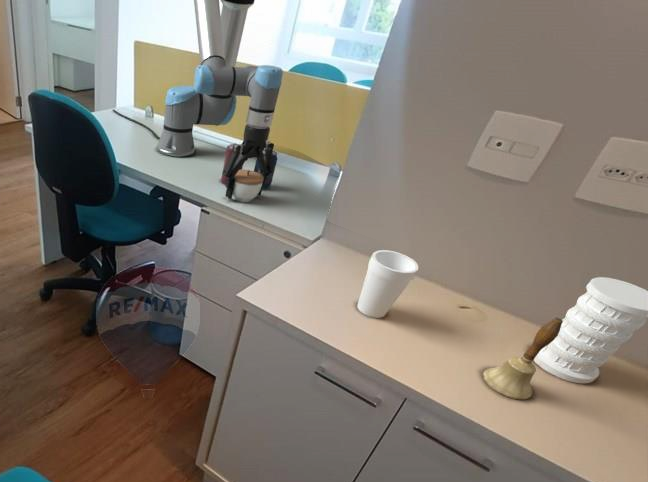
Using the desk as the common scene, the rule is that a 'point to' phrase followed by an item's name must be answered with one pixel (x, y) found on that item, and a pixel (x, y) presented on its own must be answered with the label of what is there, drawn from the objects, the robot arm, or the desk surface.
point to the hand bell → (521, 366)
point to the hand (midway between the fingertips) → (243, 195)
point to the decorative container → (595, 329)
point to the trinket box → (247, 185)
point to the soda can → (270, 177)
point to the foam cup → (385, 281)
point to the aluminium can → (228, 153)
